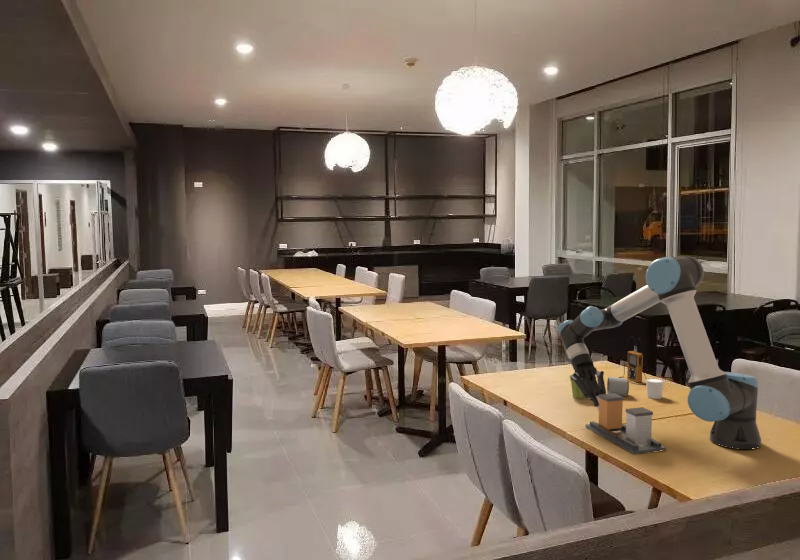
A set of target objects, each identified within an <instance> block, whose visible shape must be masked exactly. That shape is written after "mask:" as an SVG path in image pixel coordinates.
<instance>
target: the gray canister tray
mask: <svg viewBox="0 0 800 560" xmlns="http://www.w3.org/2000/svg"><path fill="white" fill-rule="evenodd" d="M625 413H626V415H625V416H626V417H625V419H626V422H625V423H623V422H622V428H618V429H607V428H605V427H603V426H601V425H600V424H599V422H596V421H589V423H587V424H585V428H586V429H588V430H590V431H592V432H593V433H595V434H596V435H598V436H600V437H602V438H604V439H606V440H608V441H609V442H610V443H612V444H614V445H616V446H618V447H619V448H621V449H623V450H625V451H627V452H628V453H630V454H632V455H640V454H641V455H642V454H648V452H650V453H655V452H654V451H658V452H661V451H660V450H665V449H666V450H667V446H664V445H663V444H662V442H660V441H658V440H657V439H654V438H653V437H652V430H653V429H652V425H653V424H652V421H653V420H652V419H653V414H654V412H653V411H652V410H650V409H647V408H646V407H642V406H641V407H633V408H632V407H630V408H625Z"/></svg>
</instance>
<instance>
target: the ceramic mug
mask: <svg viewBox="0 0 800 560" xmlns="http://www.w3.org/2000/svg"><path fill="white" fill-rule="evenodd" d="M606 381H607V383H606V394H612V393H615V394H617V395H620V396H622V397H626V396H628V395H629V391H630V382H629V381H630V380H629V379H627V378H624V377H621V378H619V377H615V376H608V377H607V380H606Z"/></svg>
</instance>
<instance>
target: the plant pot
mask: <svg viewBox="0 0 800 560" xmlns="http://www.w3.org/2000/svg"><path fill="white" fill-rule="evenodd" d="M572 375H573V374H570V375H569V376H568V377H569V380H570V384H571V392H572V397H573V398H575V399H579V400H580V399H587V398H586V397H585V396H584V394H583V393H582V391H581V390H580V388H579V387H578V385H577V384H576V383H575V381H573V380H572V379H571V376H572ZM581 380H582V379H581Z"/></svg>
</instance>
